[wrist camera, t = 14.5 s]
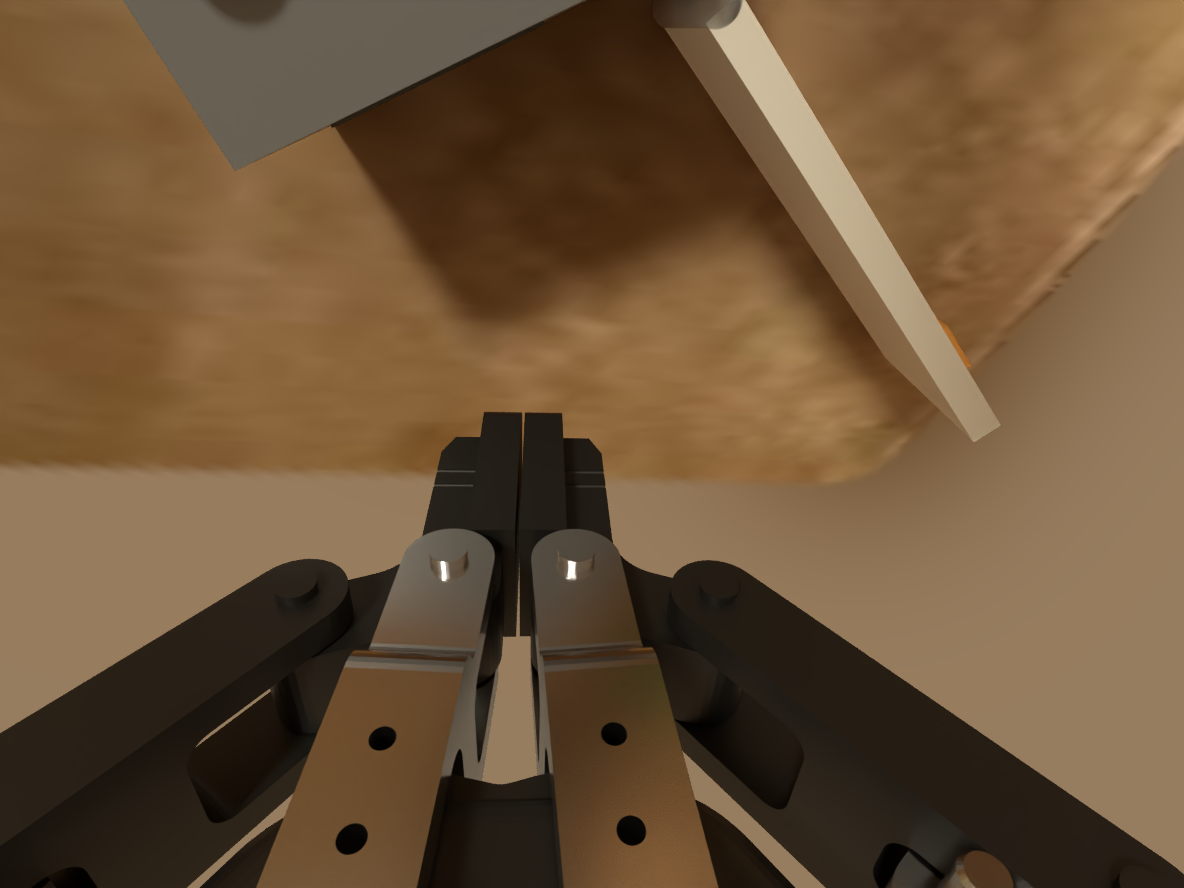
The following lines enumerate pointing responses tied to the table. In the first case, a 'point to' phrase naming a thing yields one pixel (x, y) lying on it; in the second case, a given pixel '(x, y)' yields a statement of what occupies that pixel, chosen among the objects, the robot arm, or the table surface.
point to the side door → (823, 199)
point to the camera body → (317, 57)
